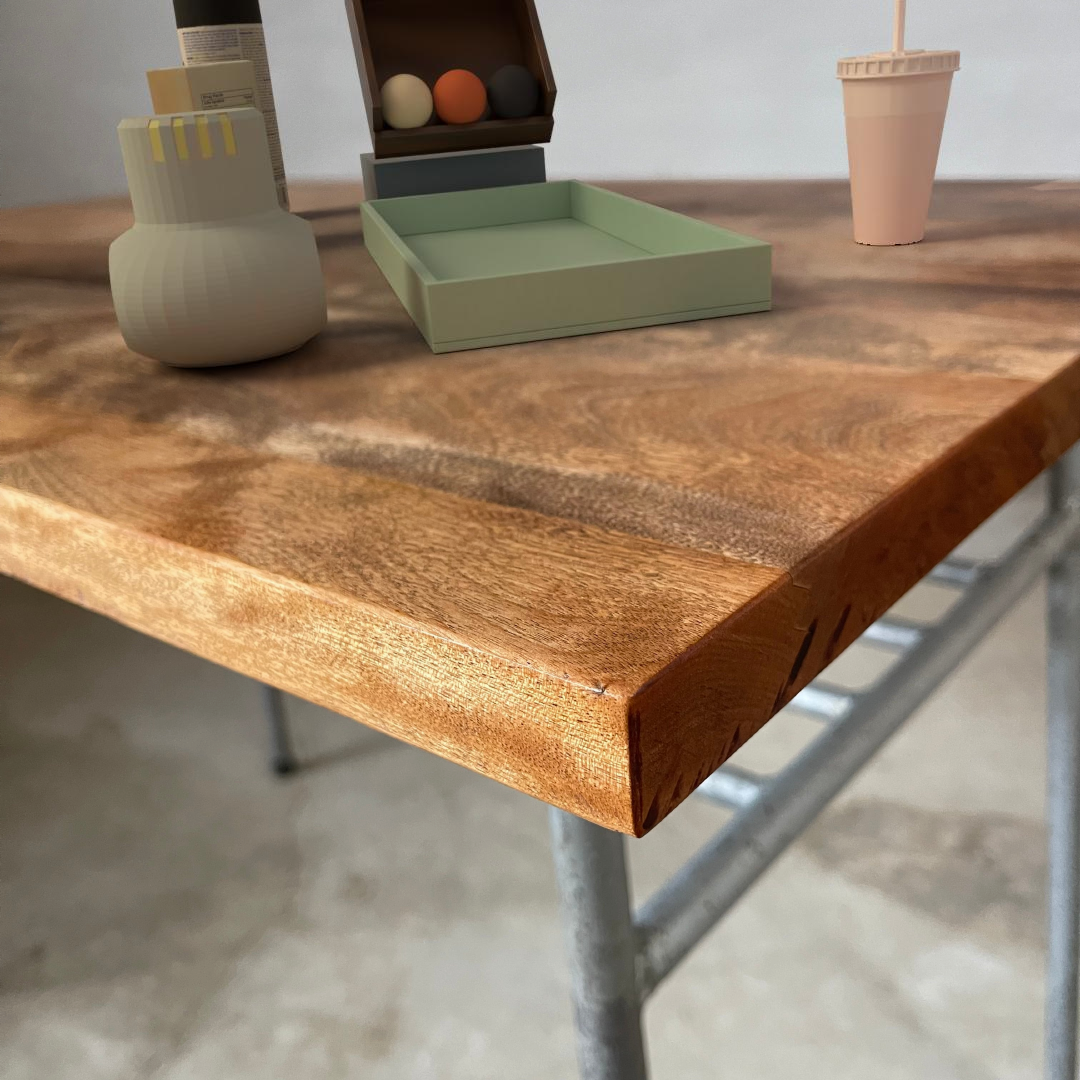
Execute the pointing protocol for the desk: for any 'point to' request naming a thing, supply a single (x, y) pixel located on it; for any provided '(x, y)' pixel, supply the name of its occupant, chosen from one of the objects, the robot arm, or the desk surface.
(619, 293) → the tray
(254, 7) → the spray can
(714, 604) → the desk surface
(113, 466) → the desk surface
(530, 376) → the desk surface
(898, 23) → the smoothie
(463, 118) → the ball terracotta
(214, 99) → the cosmetic box
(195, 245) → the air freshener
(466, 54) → the wooden display box
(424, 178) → the stand
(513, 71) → the ball charcoal
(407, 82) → the ball cream
